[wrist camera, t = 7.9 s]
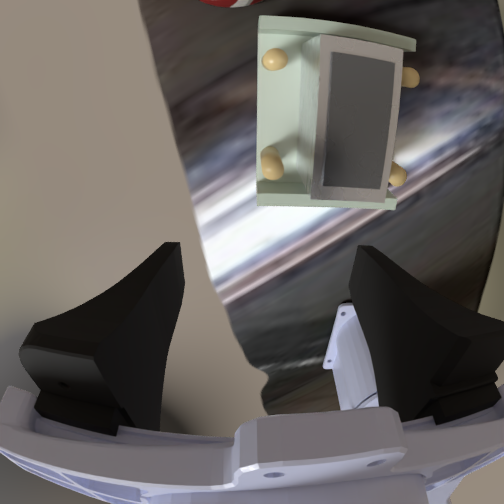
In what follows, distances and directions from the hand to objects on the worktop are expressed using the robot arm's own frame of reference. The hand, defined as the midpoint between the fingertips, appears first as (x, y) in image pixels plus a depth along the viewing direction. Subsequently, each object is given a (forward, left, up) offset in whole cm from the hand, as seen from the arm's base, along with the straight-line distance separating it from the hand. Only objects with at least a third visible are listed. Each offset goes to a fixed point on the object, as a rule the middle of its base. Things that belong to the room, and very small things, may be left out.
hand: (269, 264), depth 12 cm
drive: (+5, -4, -9) cm, 11 cm away
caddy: (+5, -4, -10) cm, 12 cm away
